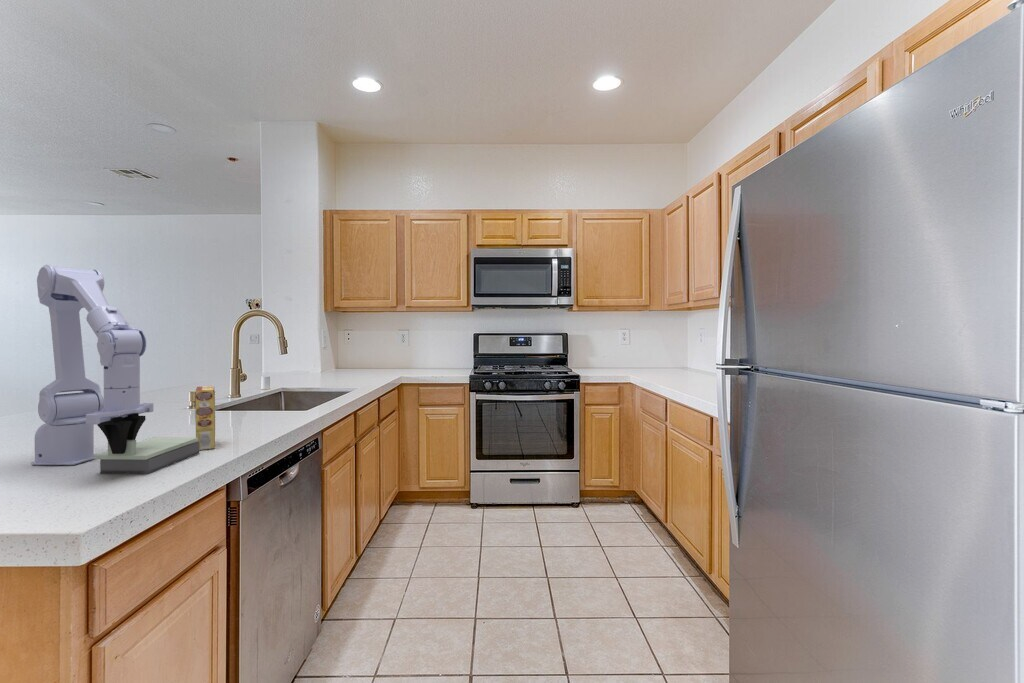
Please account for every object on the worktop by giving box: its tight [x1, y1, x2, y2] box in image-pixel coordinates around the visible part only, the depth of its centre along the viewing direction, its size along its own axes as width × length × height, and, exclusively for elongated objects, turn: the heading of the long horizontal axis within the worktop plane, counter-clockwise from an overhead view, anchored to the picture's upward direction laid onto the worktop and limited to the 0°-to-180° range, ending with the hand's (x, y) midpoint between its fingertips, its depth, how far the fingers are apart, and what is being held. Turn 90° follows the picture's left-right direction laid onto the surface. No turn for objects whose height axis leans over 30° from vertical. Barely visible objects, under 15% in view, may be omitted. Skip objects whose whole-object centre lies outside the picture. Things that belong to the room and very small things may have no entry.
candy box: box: [194, 385, 216, 451], centre depth 118 cm, size 9×4×15 cm, turn 33°
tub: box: [99, 441, 200, 475], centre depth 103 cm, size 10×16×3 cm, turn 1°
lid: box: [93, 436, 198, 460], centre depth 102 cm, size 11×16×4 cm, turn 1°
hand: (122, 452), depth 95 cm, fingers closed on lid
